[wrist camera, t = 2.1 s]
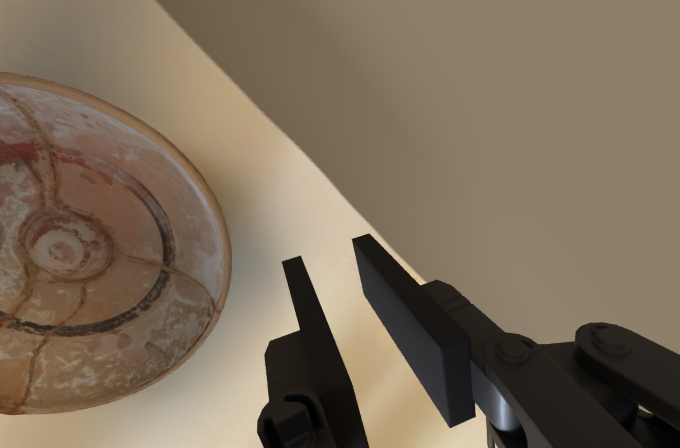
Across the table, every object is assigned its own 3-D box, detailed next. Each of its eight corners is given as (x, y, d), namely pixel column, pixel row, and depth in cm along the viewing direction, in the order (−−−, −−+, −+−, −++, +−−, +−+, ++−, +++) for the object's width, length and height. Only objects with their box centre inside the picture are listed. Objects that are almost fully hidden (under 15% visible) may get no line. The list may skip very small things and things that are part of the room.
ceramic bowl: (-233, 272, 21) (-358, 318, 17) (0, -13, 20) (-69, -45, 16) (117, 408, 31) (96, 460, 27) (289, 224, 30) (298, 246, 25)
